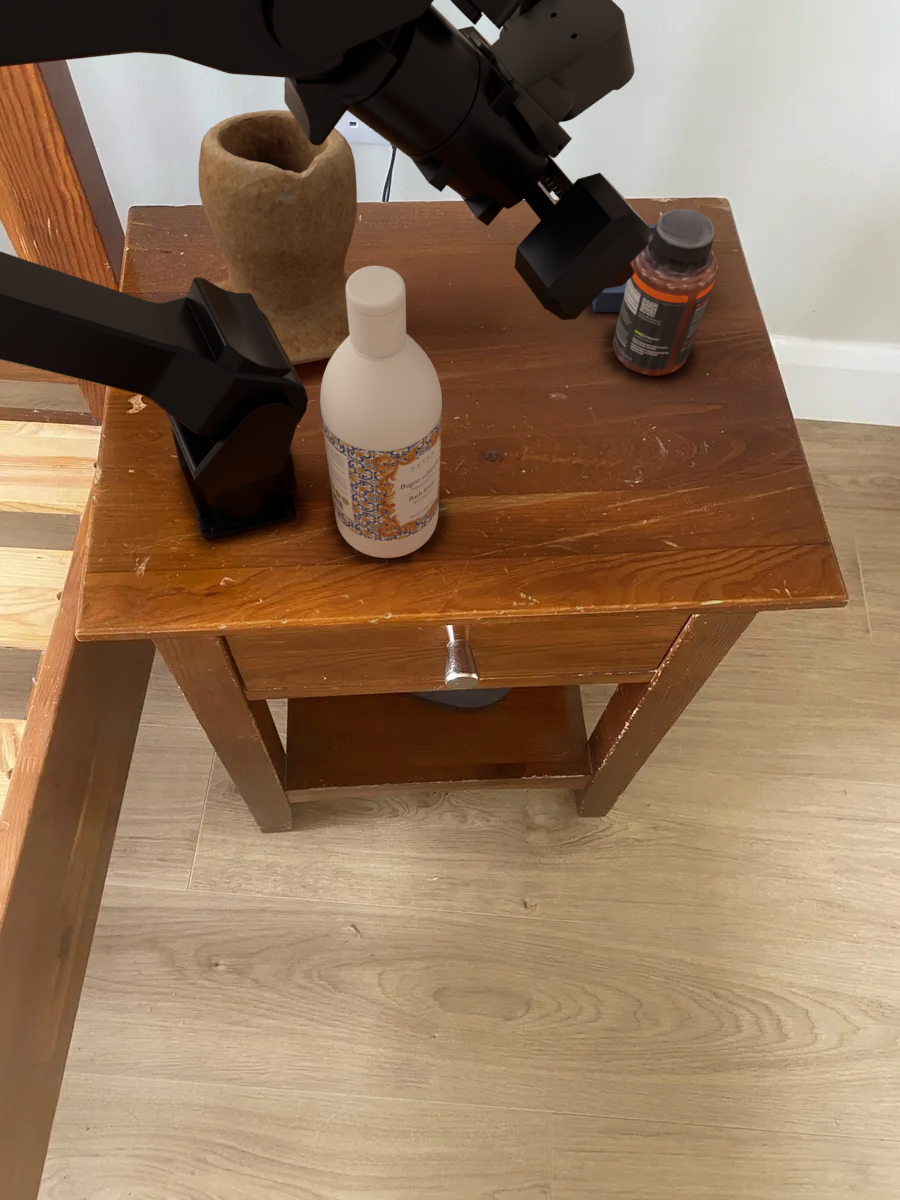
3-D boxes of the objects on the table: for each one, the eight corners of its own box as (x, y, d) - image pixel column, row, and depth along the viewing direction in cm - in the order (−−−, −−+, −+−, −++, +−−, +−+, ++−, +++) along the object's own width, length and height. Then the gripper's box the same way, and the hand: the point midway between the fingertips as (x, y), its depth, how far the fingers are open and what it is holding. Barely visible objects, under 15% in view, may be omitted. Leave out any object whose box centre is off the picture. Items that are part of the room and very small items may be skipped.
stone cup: (361, 261, 73) (349, 78, 60) (391, 366, 67) (385, 190, 54) (174, 286, 70) (119, 102, 57) (189, 397, 65) (132, 222, 52)
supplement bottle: (686, 327, 70) (730, 202, 60) (688, 383, 67) (735, 261, 57) (611, 320, 70) (643, 193, 60) (609, 375, 67) (643, 252, 58)
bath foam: (383, 580, 58) (368, 359, 40) (315, 516, 60) (273, 280, 43) (459, 521, 60) (476, 288, 43) (391, 461, 63) (381, 217, 45)
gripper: (664, 52, 35) (785, 219, 48) (458, -150, 43) (608, 38, 56) (476, 267, 40) (630, 368, 53) (322, 50, 48) (487, 182, 60)
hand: (589, 230), depth 55 cm, fingers open, 9 cm apart
